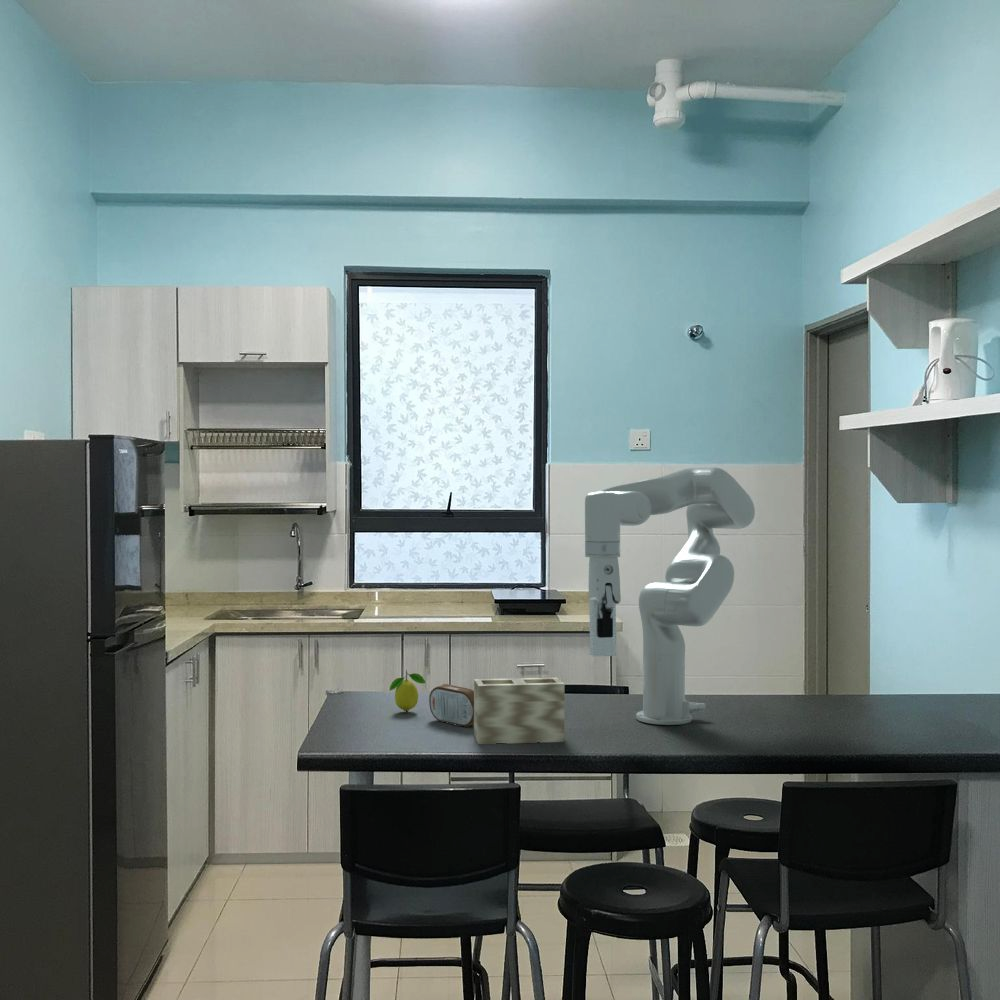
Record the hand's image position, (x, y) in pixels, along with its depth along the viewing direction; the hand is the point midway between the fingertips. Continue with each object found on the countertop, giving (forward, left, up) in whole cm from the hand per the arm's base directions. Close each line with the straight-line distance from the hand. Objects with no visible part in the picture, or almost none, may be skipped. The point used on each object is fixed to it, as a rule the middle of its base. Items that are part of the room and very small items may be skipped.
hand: (603, 635), depth 214 cm
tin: (+30, -16, -22) cm, 40 cm away
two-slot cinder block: (+18, 0, -22) cm, 28 cm away
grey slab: (0, 0, -4) cm, 4 cm away
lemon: (+40, -30, -22) cm, 55 cm away
